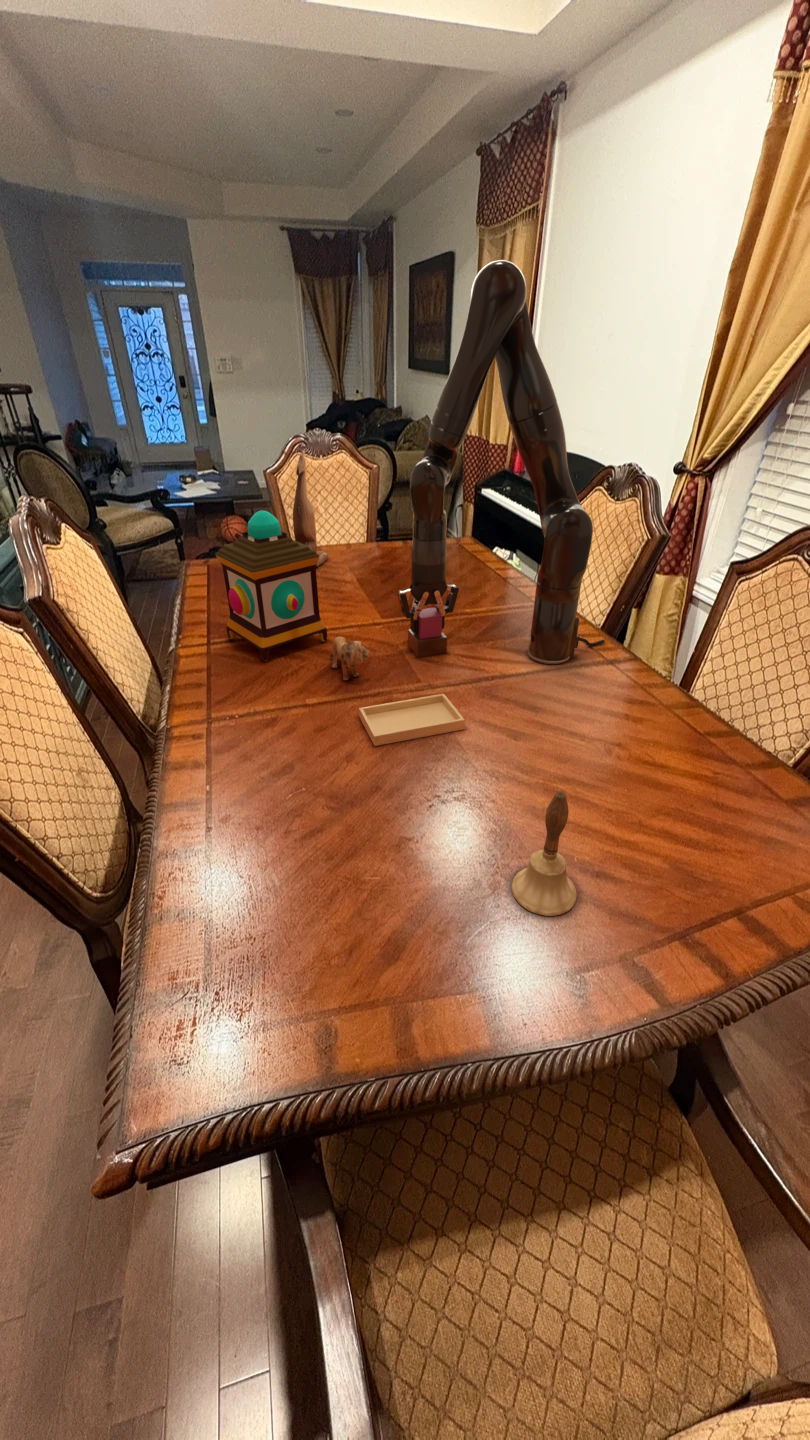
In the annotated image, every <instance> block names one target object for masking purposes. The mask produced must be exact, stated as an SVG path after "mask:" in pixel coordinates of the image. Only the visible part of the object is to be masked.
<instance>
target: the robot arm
mask: <svg viewBox="0 0 810 1440" xmlns="http://www.w3.org/2000/svg"><path fill="white" fill-rule="evenodd" d="M531 323H532V322H531V318H530V313H529V308H528V301H527V284H526V278H525V276H524V274H523V272H522V271H521V269H520V268H519V266H518V265H516V264H515V263H513V262H511V261H509V260H505V259H499V260H494V261H493V260H492V261H491V262H489V263H487V264H486V265H485V266H483V267H482V268H481V269H480V270H479V271H478V273H477V275H476V276H475V278H474V280H473V282H472V286H471V291H470V301H469V307H468V312H467V318H466V322H465V326H464V331H463V334H462V337H461V341H460V344H459V348H458V351H457V354H456V356H455V360H454V362H453V365H452V367H451V370H450V372H449V375H448V376H447V380H446V382H445V385H444V387H443V389H442V392H441V394H440V398H439V400H438V403H437V405H436V407H435V411H434V414H433V416H432V419H431V421H430V425H429V428H428V434H427V435H428V440H427V443H426V445H425V448H424V451H423V454H422V457H421V459H420V460H419V461H418V462H417V463H416V464H415V465H414V466H413V468H412V470H411V473H410V477H409V492H410V493H409V494H410V501H411V509H412V542H411V552H410V558H411V559H410V561H411V563H410V565H411V567H410V569H411V571H410V573H411V575H410V578H411V582H410V585H409V588H407V589H405V590H402V589H399V590H397V593H396V594H397V598H398V603H399V605H400V610H401V613H402V615H403V616H404V618H406V619H410V620H409V621H410V622H409V623H410V624H409V625H410V628H409V629H411V631H412V632H413V633H414V634H415V635H418V634H419V620H418V617H419V615H420V612H421V611H422V610H423V609H424V607H425V606H428V605H434V606H435V607H434V608H435V609H436V610H437V611H438V612H439V613H440V614H441V615H442V630H444V628H445V619H446V615H447V614H452V613H453V612H454V610H455V606H456V602H457V598H458V595H459V591H460V589H459V587H458V586H457V585H455V584H454V583H450V584H447V581H446V580H447V562H448V544H447V528H448V517H447V512H446V510H445V489H446V487H447V486H448V485H449V483H450V481H451V478H452V475H453V473H454V469H455V467H456V464H457V460H458V456H459V454H460V449H461V447H462V445H463V443H464V441H465V439H466V436H467V433H468V432H469V429H470V426H471V423H472V421H473V418H474V416H475V413H476V410H477V407H478V404H479V401H480V398H481V395H482V392H483V389H484V385H485V382H486V379H487V377H488V374H489V371H490V369H491V366H492V363H493V361H494V359H495V362H496V367H497V370H498V377H499V383H500V388H501V395H502V400H503V405H504V410H505V413H506V417H507V422H508V425H509V428H510V431H511V434H512V438H513V441H514V443H515V446H516V449H517V452H518V455H519V457H520V459H521V462H522V464H523V467H524V469H525V471H526V473H527V475H528V477H529V479H530V482H531V485H532V488H533V491H534V495H535V500H536V505H537V509H538V514H539V521H540V527H541V532H542V535H543V537H544V543H543V551H542V558H541V563H540V566H539V568H538V570H537V576H536V585H535V591H534V592H535V593H534V601H533V609H532V617H531V626H530V631H529V632H528V640H529V643H528V649H527V655H528V657H529V658H530V659H531V660H533V661H535V662H538V663H541V664H545V665H559V664H560V665H561V664H564V663H566V662H568V661H570V659H573V658H574V656H575V649H578V647H579V642H584V643H585V645H587V646H588V647H593V646H594V647H595V646H598V645H601V644H605V643H606V641H605V639H601V640H598V641H595V642H589V640H588V639H586V638H583V637H580V636H579V635H578V632H579V625H580V618H579V616H577V613H578V607H579V600H580V593H581V587H582V582H583V578H584V576H585V573H586V571H587V568H588V562H589V557H590V552H591V547H592V542H593V533H594V525H593V520H592V518H591V516H590V515H589V513H588V512H587V511H586V510H585V509H584V507H583V506H582V504H581V502H580V500H579V498H578V495H577V492H576V490H575V487H574V485H573V484H574V483H573V482H572V481H573V480H572V478H571V476H570V471H569V465H568V464H569V463H568V453H567V442H566V441H567V440H566V433H565V428H564V422H563V418H562V414H561V410H560V406H559V404H558V400H557V397H556V392H555V390H554V388H553V384H552V382H551V379H550V377H549V374H548V371H547V369H546V368H545V364H544V362H543V360H542V358H541V356H540V353H539V350H538V348H537V345H536V342H535V337H534V334H533V328H532V324H531ZM445 593H446V594H447V595H446V600H445V603H444V601H443V599H442V598H443V596H444V595H445ZM410 596H412V597H413V600H412V604H411V609H410V606H409V600H410Z"/></svg>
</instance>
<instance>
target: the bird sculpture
mask: <svg viewBox="0 0 810 1440" xmlns="http://www.w3.org/2000/svg"><path fill="white" fill-rule="evenodd" d="M306 464H307V462H306V458H305V455H304V454H300V455H299V457H298V461H297V464H296V472H295V474H296V476H297V479H296V487H295V495H294V500H293V501H294V502H293V507H292V527H293V535H294V541H296V542H299V543H301V544H304V545H306V546H309V548H310V549H312V550H314V551H315V552H316V553H317V554H319V555H320V557H319V561H318V563H317V565H316V568H317V567H319V566H320V565H321V564H323V563H324V562H325V561H326V560H327V559H328V558H329V557H328V553H327V551H325V550H318V544H317V543H318V542H317V528H316V527H317V526H316V517H315V516H316V515H315V510H314V506H313V505H312V502H311V501H310V499H309V497H308V489H307V471H306V469H307V465H306Z"/></svg>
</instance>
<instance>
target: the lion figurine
mask: <svg viewBox="0 0 810 1440" xmlns="http://www.w3.org/2000/svg"><path fill="white" fill-rule="evenodd" d="M370 653H371V650H370V649H368V648H366V647H365V645H363V643H362V641H360V640H353V641H350V642H348V641H347V639H346V638H345V637H344V636H336V637H335V638H334V639H333V642H332V654H330V655H329V657H331V658H332V666H331V667H332V669H337V668H338V664H337V663H338V660H337V659H338V658H339V660H340V663H341V669H342V681H349V674H348V668H349V669H352V670H351V675H352V676H353V677H357V678H358V677H359V676H360V675H359V674H360V673H359V672H357V668H358V667H359V665H361V664H362V663H363V662H364V660H367V659H368V656H370Z"/></svg>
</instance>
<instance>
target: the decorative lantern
mask: <svg viewBox="0 0 810 1440" xmlns="http://www.w3.org/2000/svg"><path fill="white" fill-rule="evenodd" d="M215 557H216V559H217V560H218V561H219V563H220V565H221V567H222V572H223V579H224V584H225V590H226V597H227V603H228V609H229V617H228V620H227V623H226V627H225V629H226V633H227V637H228V638H229V639H230V640H234V639H235V638H236V636H238V637H240V638H241V639H243V641H246V642H247V643H249V644H251V645H252V646H254V647H255V648H256V649H257V650H258V651H259V653H260V657H261V659H262V661H263V662H268V660H269V653H270V651H271V650H272V649H275V648H278V647H280V646H285V645H287V644H290V643H293V642H296V641H299V640H302V639H305V638H308V637H311V636H315V635H318V636H319V639H320V642H326V641H327V640H328V629H327V626H326V625H325V623H324V622H323V620H322V618H321V616H320V604H319V591H318V590H319V589H318V578H317V563H318V561H319V557H320V555H319V553H316V552H315V551H314V550H312V549H310V548H309V546H306V545H304V544H301V543H299V542H296V541H295V539H294V540H293V538H292V537H290V536H288V534H287V533H286V532H284V531H282V530H281V524H280V522H279V520H278V519H277V517H276V516H274V515H273V514H272V513H271V512H269V511H267V510H259V511H256V512H255V513H253V515H252V516H251V517H250V519H249V520H248V521H247V531H245V532H242V536H239V537H238V539H237V540H235V541H233V542H231V543H227V544H224V545H223V546H222V547H221V548H219V549H218V551H216V552H215Z"/></svg>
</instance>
